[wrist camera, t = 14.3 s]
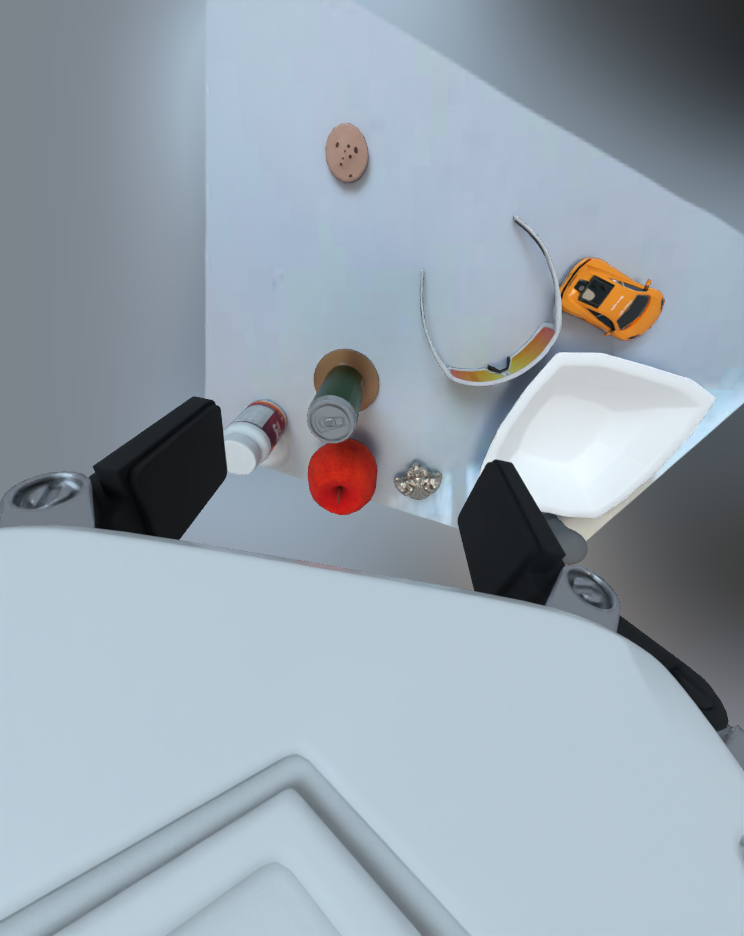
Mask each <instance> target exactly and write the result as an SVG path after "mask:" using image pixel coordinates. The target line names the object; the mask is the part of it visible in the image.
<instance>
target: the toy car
mask: <svg viewBox="0 0 744 936" xmlns="http://www.w3.org/2000/svg"><path fill="white" fill-rule="evenodd" d="M650 285H651V280H649V279H648V280H647V282H646V286H644V285H642V284H639V283H637V282H635V281H633V280H632V279H630V278H629V277H627V276H626V275H623V274H622V273H621V272H619V271H618V270H617V269H616V268H614V267H612V266H611V265H609V264H608V263H607V262H605V261H604V260H601V259H599V258H594V257H588V258H584V259H582V260H581V261H580V262H578V263H577V264H576V265H575V266H574V267H573V268H572V270H571V271H570V272H569V273H568V275H567V276H566V278H565V279H564V281H563V282H562V284H561V286H560V287H559V288H560V294H561V301H562V310H563V311H565V312H566V313H568V314H570V315H572V316H575V317H578V318H580V319H583V320H585V321H587V322H589V323H590V324H592V325H594V326H596V327H598V328H599V329H601V330H603V331H605V332H606V333H605V334H604V336H608V335H611V336H614V337H616V338H618V339H620V340H633V339H635V338H637V337H639V336H640V335H642V334H643V333H645V332H646V331H647V330H648V329H649V328H650V327H651V326H652V325H653V324H654V323H655V321H656V320H657V319H658V317H659V316H660V314H661V312H662V309H663V306H664V303H665V299H664V297H663V295H662V293H661V292H660V291H658V290H656V289H654V288H652V287H649V286H650ZM647 286H648V287H647Z"/></svg>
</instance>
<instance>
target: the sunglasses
mask: <svg viewBox="0 0 744 936" xmlns="http://www.w3.org/2000/svg"><path fill="white" fill-rule="evenodd" d="M513 219H514V221H515V222H516V223H517V224H518V225H520V226H521V227H522V228H523V229H524V230H525V231H526V232H527V233H528V234H529V235H530V236H531V237H532V238H533V239H534V240H535V242H536V243H537V244H538V246H539V247H540V249H541V250H542V252H543V254H544V256H545V258H546V261H547V264H548V267H549V269H550V272H551V275H552V278H553V283H554V288H555V304H554V324H551V323H543V324H542V325H541V326H540V328H539V329H538V330H537V331H536V332H535V334H534V335H533V336H532V337H531V338H530V339H529V340H528V341H527V343H526V344H524V345H523V346H522V347H521V348H520V349H519V350H518V351H517V352H516V353H514V354H513V355H512V356H511V357H508V358H507V366H506V368H505V369H502V370H500V371H499V370H498V369H496V368H495V367H492V366H490V365H488V369H487V368H481V369H458V368H452V367H448V369H447V368H446V366H445V365H444V363H443V362H442V360H441V359H440V357H439V356H438V354H437V352H436V350H435V348H434V347H433V345H432V342H431V339H430V337H429V334H428V331H427V327H426V322H425V316H424V307H423V280H424V270H423V269H422V271H421V284H420V305H421V315H422V321H423V326H424V330H425V334H426V337H427V340H428V343H429V346H430V348H431V350H432V353H433V355H434V357H435V359H436V361H437V363H438V364H439V366H440V367H441V369H442V370H443V372H444V373H445V375H446V376H447V377H448V378H449V379H451V380H453V381H455V382H458V383H461V384H466V385H471V386H489V385H496V384H499V383H503V382H506V381H509V380H511V379H514V378H516V377H517V376H519V375H521V374H523V373H525V372H526V371H528V370H529V369H530V368H532V367H533V366H534V365H536V364H537V363H538V362H539V361H540V360H541V359H542V358H543V357H544V356H545V355H546V354H547V352H548V351H549V349H550V348H551V347H552V345H553V344H554V342H555V341H556V339H557V338H558V336H559V334H560V330H561V327H562V301H561V294H560V288H559V284H558V279H557V275H556V272H555V269H554V265H553V262H552V259H551V257H550V254H549V252H548V250H547V248H546V247H545V245H544V244H543V242H542V241H541V239H540V238H539V237H538V235H537V234H536V233H535V232H534V231H533V230H532V229H531V228H530V227H529V226H528V225H526V224H525V223H524V222H523V221H522V220H520V219H519V218H518V217H517V216H515V215H514V216H513Z"/></svg>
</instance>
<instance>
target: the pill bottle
mask: <svg viewBox="0 0 744 936" xmlns="http://www.w3.org/2000/svg"><path fill="white" fill-rule="evenodd" d="M286 426H287V420H286V416H285V414H284V412H283V411H282V409H281V408H280V407H279V406H277V405H276V404H274V403H272V402H270V401H266V400H258V401H255V402H253V403H252V404H250V405H249V406H248V407H247V408H246V409H245V410H244V411H243V412H242V413H241V414H240V415H239V416H238V417H237V418H236V419H235V420H234V421H233V422H232V423H231V424H230V425H229V426H228V427H227V428H226V430H225V431H224V433H223V435H224V444H225V453H226V462H227V471H228V472H230V473H232V474H236V475H246V474H249V473H251V472H252V471H253V470H254V469H255V468H256V466H257V465H258V464H259V463H261V462H263V461H264V460H266V459H267V457H268V456H269V455H270V453H271V451H272V450H273V448H274V447H275V445H276V444H277V442H278V441H279V439H280V437H281V436H282V434H283V433H284V431H285V429H286Z"/></svg>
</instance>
